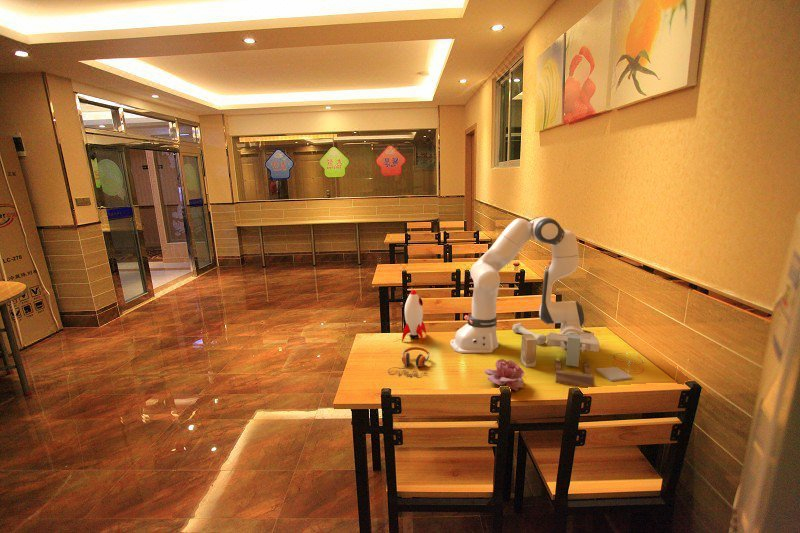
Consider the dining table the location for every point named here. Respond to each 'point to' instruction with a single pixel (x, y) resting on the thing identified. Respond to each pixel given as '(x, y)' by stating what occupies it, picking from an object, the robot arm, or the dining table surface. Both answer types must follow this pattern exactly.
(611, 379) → the coaster
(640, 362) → the dining table surface
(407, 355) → the headphones
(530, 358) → the skincare box
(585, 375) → the channel
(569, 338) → the block
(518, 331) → the dog toy
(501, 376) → the flower
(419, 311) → the rocket
